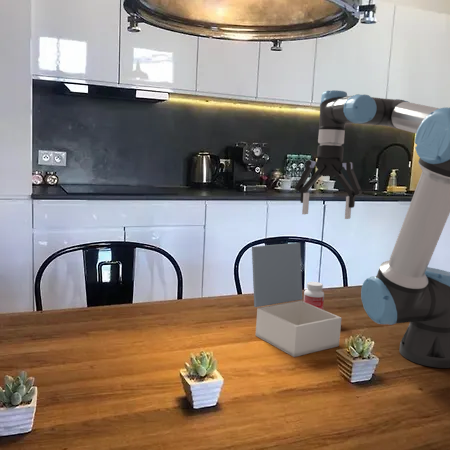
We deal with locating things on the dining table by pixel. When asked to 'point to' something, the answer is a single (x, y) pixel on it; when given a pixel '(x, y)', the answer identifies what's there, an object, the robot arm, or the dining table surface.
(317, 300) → the pill bottle
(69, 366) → the dining table surface
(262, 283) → the lid
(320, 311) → the box
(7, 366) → the dining table surface
